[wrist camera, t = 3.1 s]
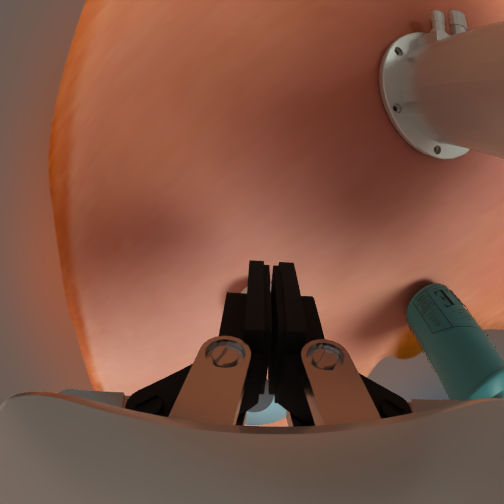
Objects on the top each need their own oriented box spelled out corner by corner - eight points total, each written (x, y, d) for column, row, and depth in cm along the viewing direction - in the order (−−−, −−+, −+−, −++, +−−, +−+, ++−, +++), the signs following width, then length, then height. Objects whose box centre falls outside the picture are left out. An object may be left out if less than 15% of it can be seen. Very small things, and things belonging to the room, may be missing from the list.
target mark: (210, 379, 35) (210, 381, 35) (298, 384, 35) (298, 385, 34) (214, 420, 40) (214, 421, 40) (286, 424, 40) (286, 425, 40)
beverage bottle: (397, 325, 30) (459, 468, 12) (400, 280, 27) (492, 436, 9) (440, 312, 29) (513, 435, 11) (447, 267, 26) (548, 394, 8)
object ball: (236, 366, 33) (232, 397, 29) (275, 368, 33) (276, 399, 29) (235, 388, 35) (232, 417, 31) (271, 390, 35) (272, 419, 31)
